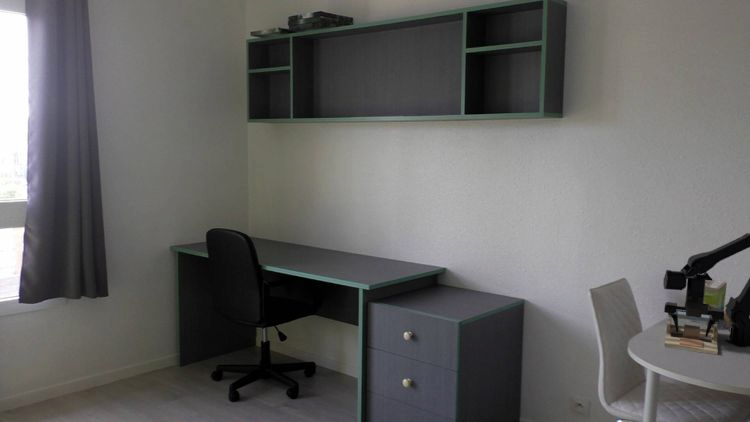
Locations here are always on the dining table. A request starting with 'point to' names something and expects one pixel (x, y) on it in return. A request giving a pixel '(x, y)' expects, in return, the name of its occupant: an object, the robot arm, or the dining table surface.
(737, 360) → the dining table surface
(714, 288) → the tea box
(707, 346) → the puzzle board
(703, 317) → the sliding slat
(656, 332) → the dining table surface
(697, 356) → the dining table surface
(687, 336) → the walnut block
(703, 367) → the dining table surface
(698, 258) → the robot arm
